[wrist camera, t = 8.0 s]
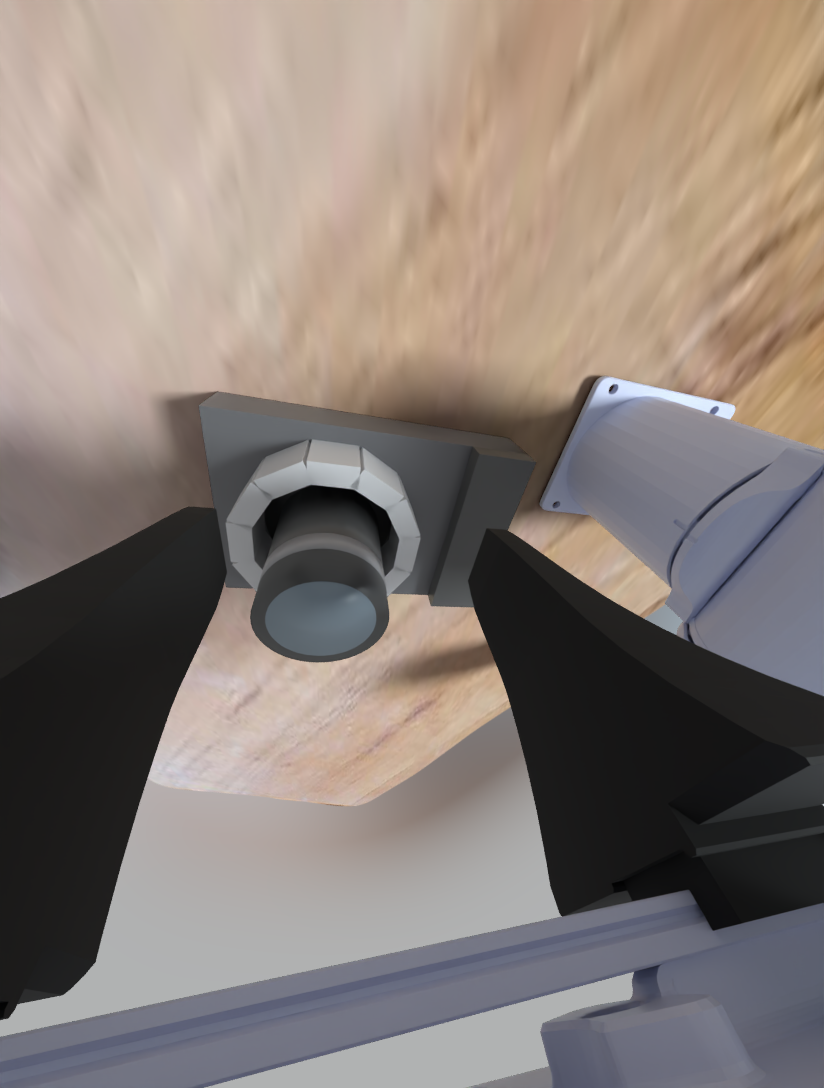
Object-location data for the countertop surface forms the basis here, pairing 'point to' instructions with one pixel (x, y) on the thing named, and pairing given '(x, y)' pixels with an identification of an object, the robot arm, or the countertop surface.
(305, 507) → the lens
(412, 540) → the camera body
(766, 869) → the robot arm
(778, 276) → the countertop surface
